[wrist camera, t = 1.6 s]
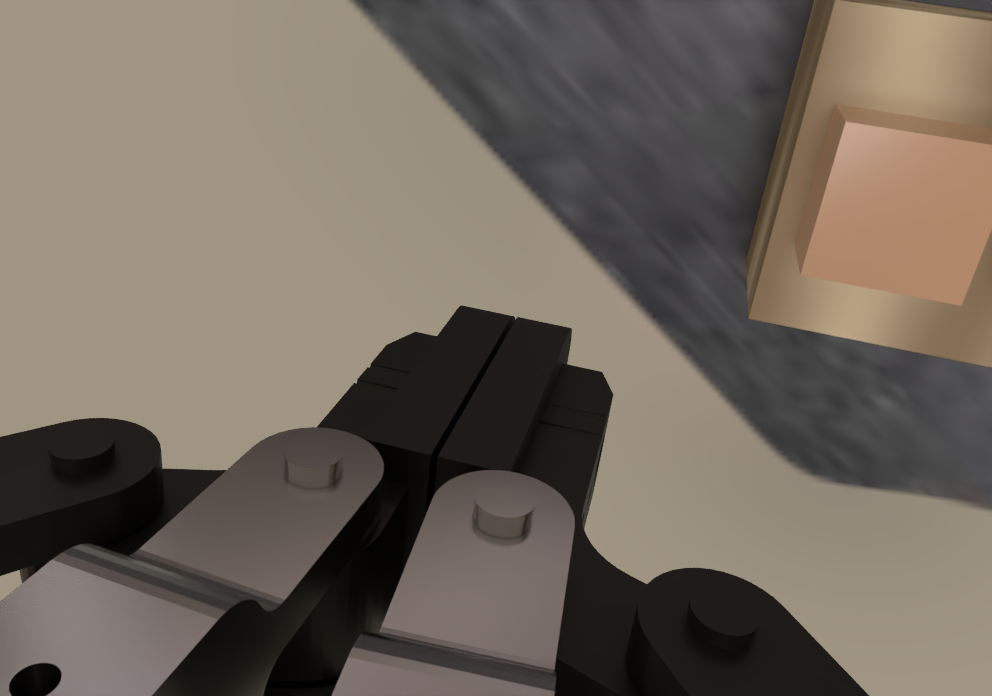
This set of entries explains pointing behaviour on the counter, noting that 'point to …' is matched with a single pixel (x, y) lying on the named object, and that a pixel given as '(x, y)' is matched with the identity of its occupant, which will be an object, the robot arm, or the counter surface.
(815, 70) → the wooden block
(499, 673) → the robot arm
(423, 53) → the counter surface
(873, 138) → the terracotta tile
